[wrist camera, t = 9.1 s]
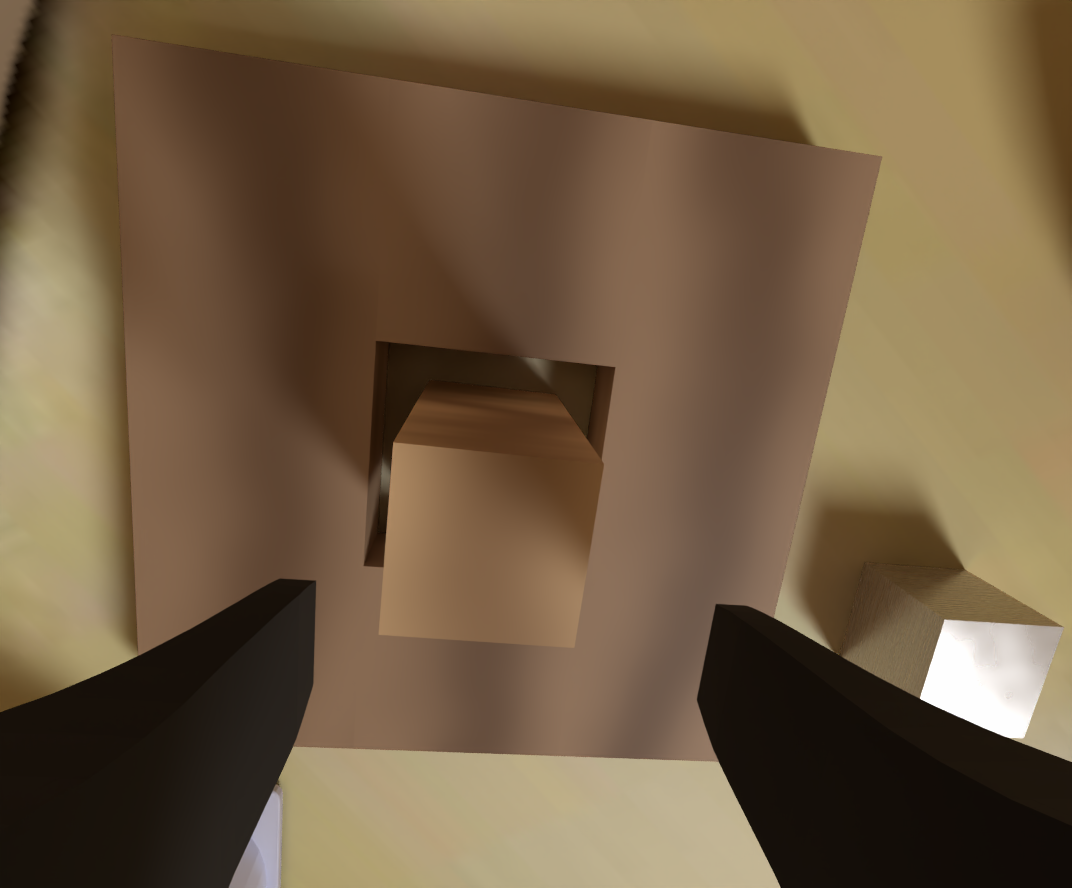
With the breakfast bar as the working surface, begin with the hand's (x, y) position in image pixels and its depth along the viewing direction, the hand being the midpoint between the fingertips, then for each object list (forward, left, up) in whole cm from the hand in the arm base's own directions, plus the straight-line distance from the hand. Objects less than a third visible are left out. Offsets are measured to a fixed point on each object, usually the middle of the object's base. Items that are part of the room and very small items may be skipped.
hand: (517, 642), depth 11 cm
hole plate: (-1, +1, -9) cm, 9 cm away
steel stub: (+15, -4, -10) cm, 19 cm away
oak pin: (-1, +1, -10) cm, 10 cm away
